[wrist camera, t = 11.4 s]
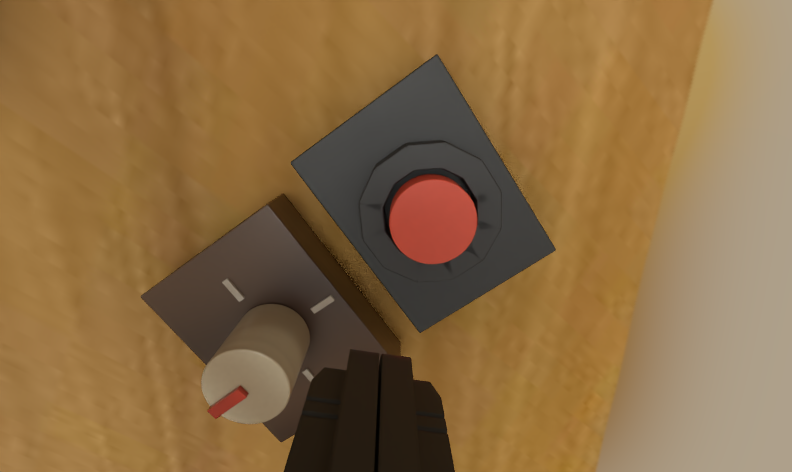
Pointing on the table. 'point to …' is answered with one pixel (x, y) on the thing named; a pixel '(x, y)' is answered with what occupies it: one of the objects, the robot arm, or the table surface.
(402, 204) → the red push button
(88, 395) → the table surface
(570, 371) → the table surface
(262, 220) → the dial panel
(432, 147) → the button housing
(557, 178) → the table surface
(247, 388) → the lock dial
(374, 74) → the table surface
